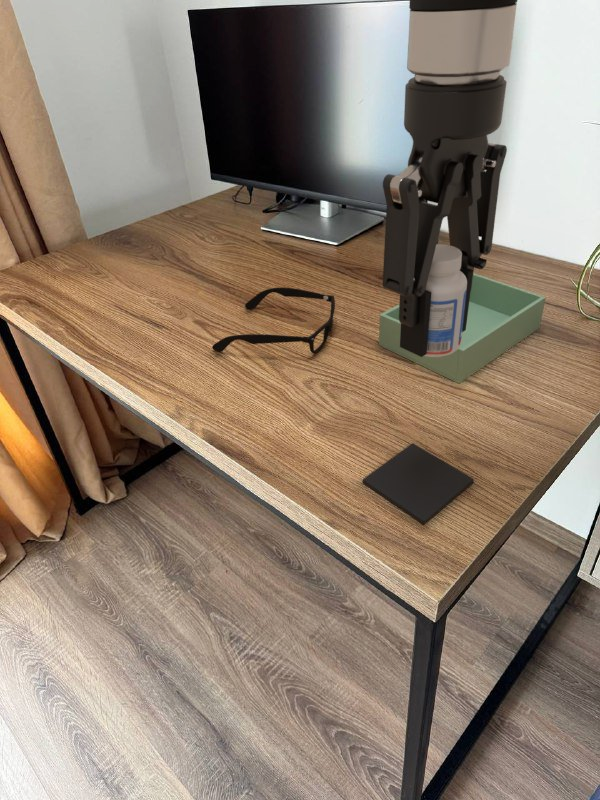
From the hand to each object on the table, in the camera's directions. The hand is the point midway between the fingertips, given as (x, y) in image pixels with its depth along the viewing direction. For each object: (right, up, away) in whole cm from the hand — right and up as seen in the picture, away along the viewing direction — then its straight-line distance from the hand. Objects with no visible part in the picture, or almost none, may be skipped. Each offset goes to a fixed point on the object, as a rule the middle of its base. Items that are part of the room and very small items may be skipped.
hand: (433, 337), depth 58 cm
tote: (+12, +4, +35) cm, 37 cm away
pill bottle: (0, -1, +1) cm, 1 cm away
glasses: (-17, +5, +39) cm, 43 cm away
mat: (0, -16, +10) cm, 19 cm away
